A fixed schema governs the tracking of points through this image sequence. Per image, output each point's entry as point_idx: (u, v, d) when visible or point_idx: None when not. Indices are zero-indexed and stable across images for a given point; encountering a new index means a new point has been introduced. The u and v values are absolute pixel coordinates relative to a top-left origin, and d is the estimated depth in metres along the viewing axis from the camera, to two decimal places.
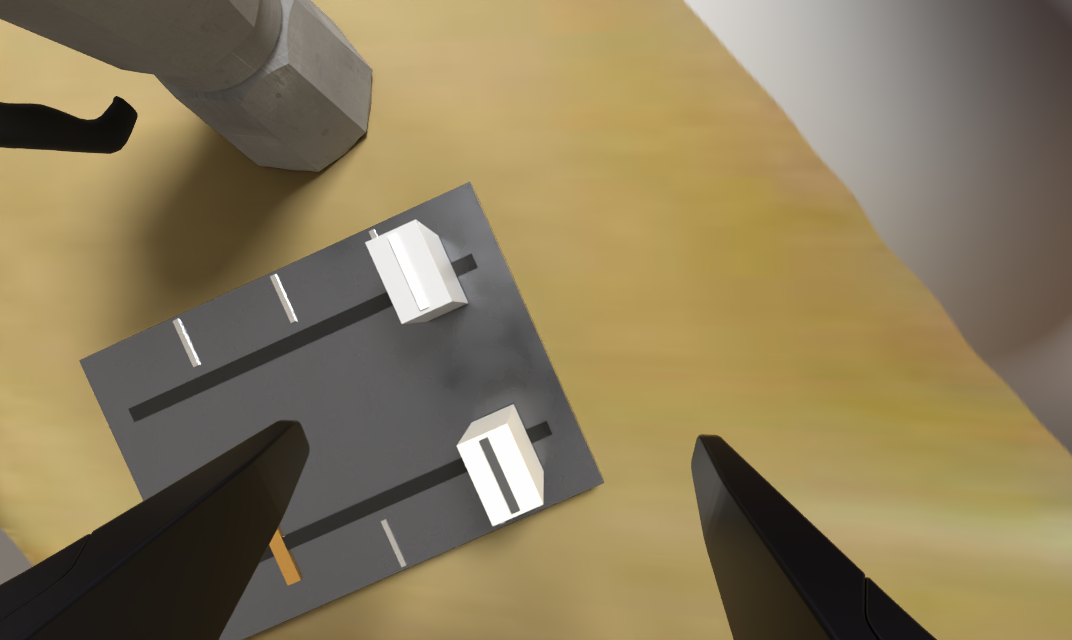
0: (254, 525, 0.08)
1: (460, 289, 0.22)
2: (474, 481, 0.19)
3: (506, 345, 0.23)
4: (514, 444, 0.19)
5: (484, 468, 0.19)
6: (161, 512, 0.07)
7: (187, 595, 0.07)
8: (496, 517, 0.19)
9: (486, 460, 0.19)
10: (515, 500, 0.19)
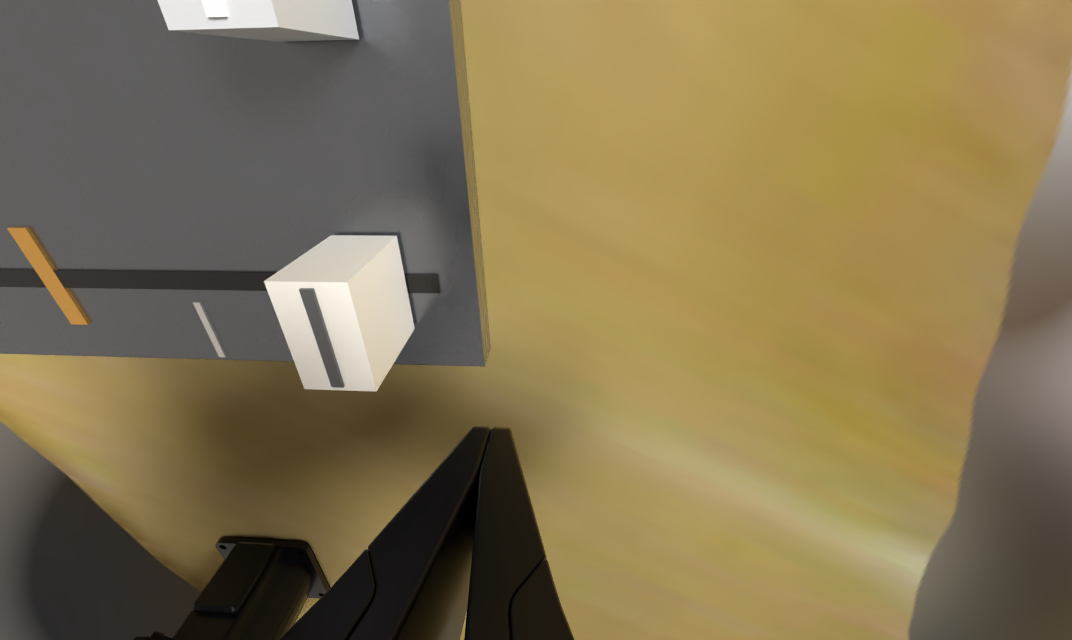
0: None
1: (343, 4, 0.12)
2: (286, 334, 0.13)
3: (409, 145, 0.14)
4: (353, 312, 0.13)
5: (303, 324, 0.13)
6: (426, 525, 0.07)
7: (446, 612, 0.07)
8: (311, 381, 0.14)
9: (307, 317, 0.13)
10: (339, 375, 0.14)
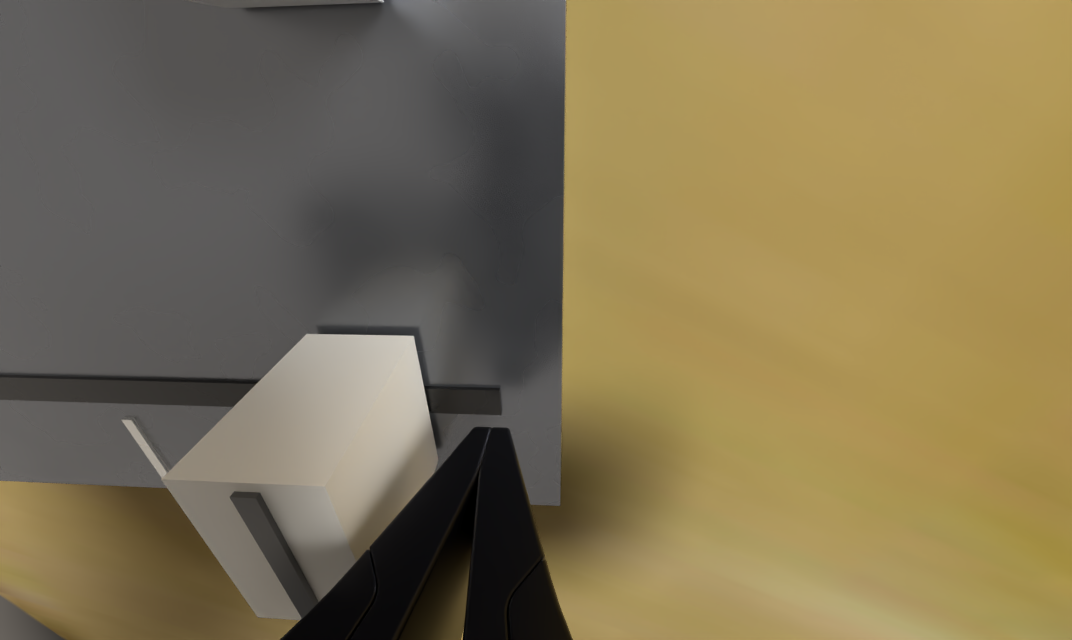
0: None
1: None
2: (215, 552, 0.07)
3: (467, 195, 0.08)
4: (338, 529, 0.07)
5: (246, 540, 0.07)
6: (428, 526, 0.07)
7: (448, 612, 0.07)
8: (268, 609, 0.08)
9: (252, 530, 0.07)
10: None
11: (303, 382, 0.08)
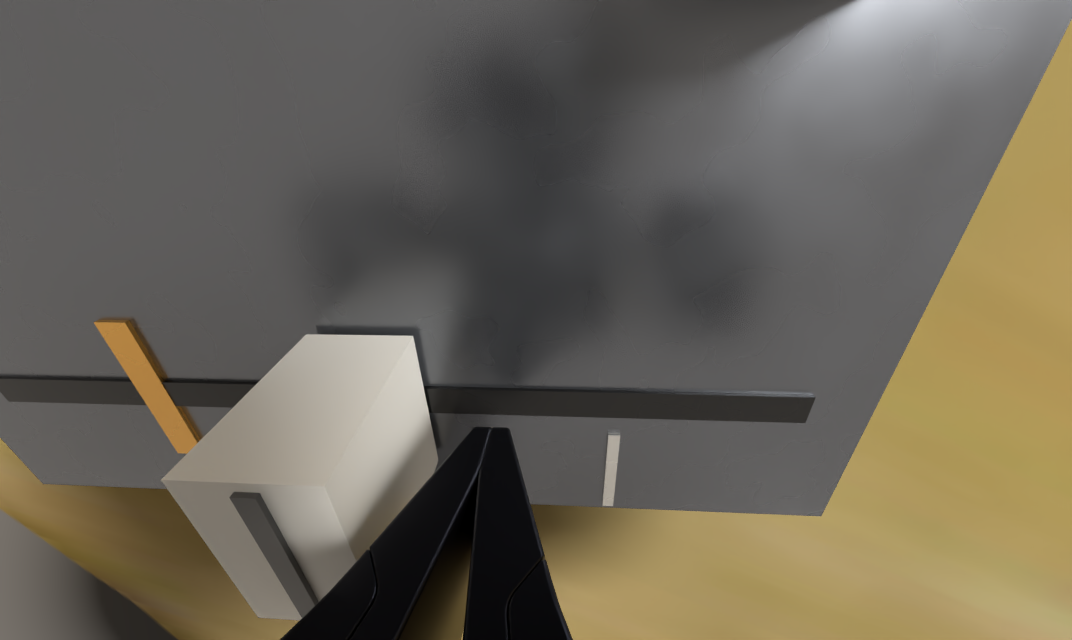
0: None
1: None
2: (215, 552, 0.07)
3: (874, 191, 0.08)
4: (338, 529, 0.07)
5: (245, 540, 0.07)
6: (428, 526, 0.07)
7: (448, 612, 0.07)
8: (268, 610, 0.08)
9: (252, 531, 0.07)
10: None
11: (302, 382, 0.08)
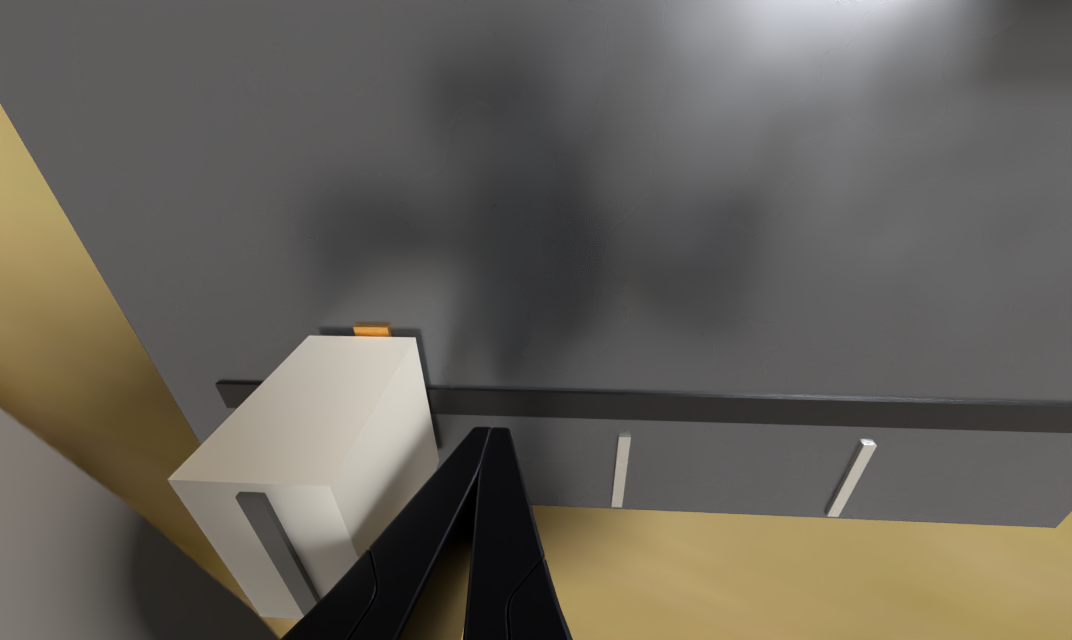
0: None
1: None
2: (219, 552, 0.07)
3: None
4: (342, 529, 0.07)
5: (250, 539, 0.07)
6: (428, 526, 0.07)
7: (447, 612, 0.07)
8: (271, 609, 0.08)
9: (256, 530, 0.07)
10: None
11: (306, 383, 0.08)
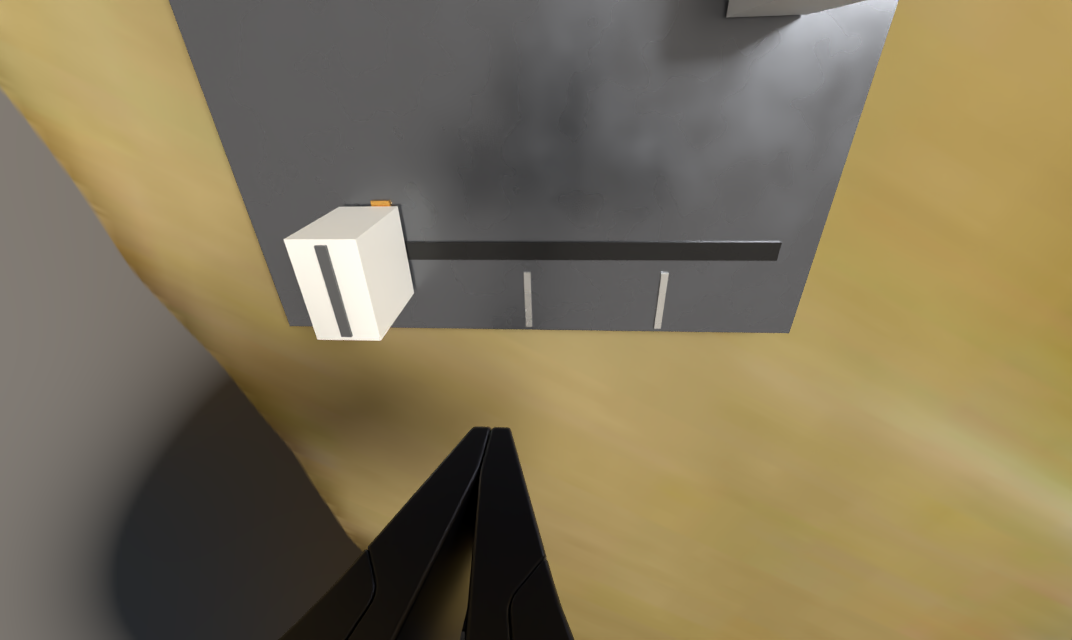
0: None
1: None
2: (301, 288, 0.15)
3: (806, 116, 0.15)
4: (360, 267, 0.14)
5: (317, 278, 0.15)
6: (426, 526, 0.07)
7: (446, 612, 0.07)
8: (323, 332, 0.16)
9: (320, 271, 0.15)
10: (348, 325, 0.16)
11: (340, 218, 0.16)
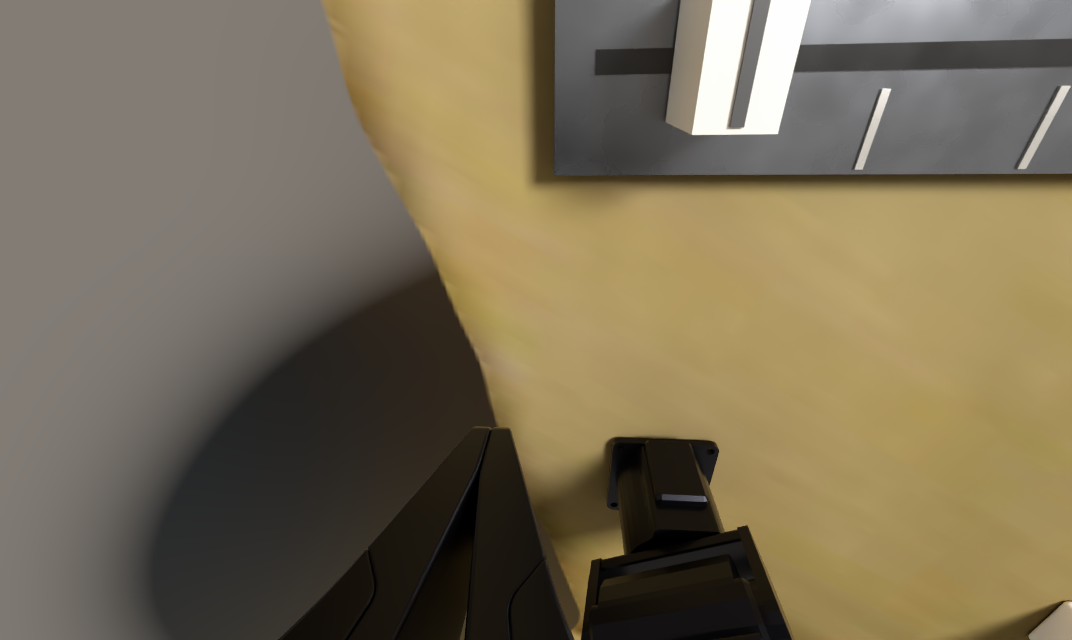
0: None
1: None
2: (708, 48, 0.12)
3: None
4: (806, 9, 0.11)
5: (736, 31, 0.11)
6: (426, 526, 0.07)
7: (446, 612, 0.07)
8: (704, 123, 0.13)
9: (746, 18, 0.11)
10: (746, 109, 0.12)
11: None
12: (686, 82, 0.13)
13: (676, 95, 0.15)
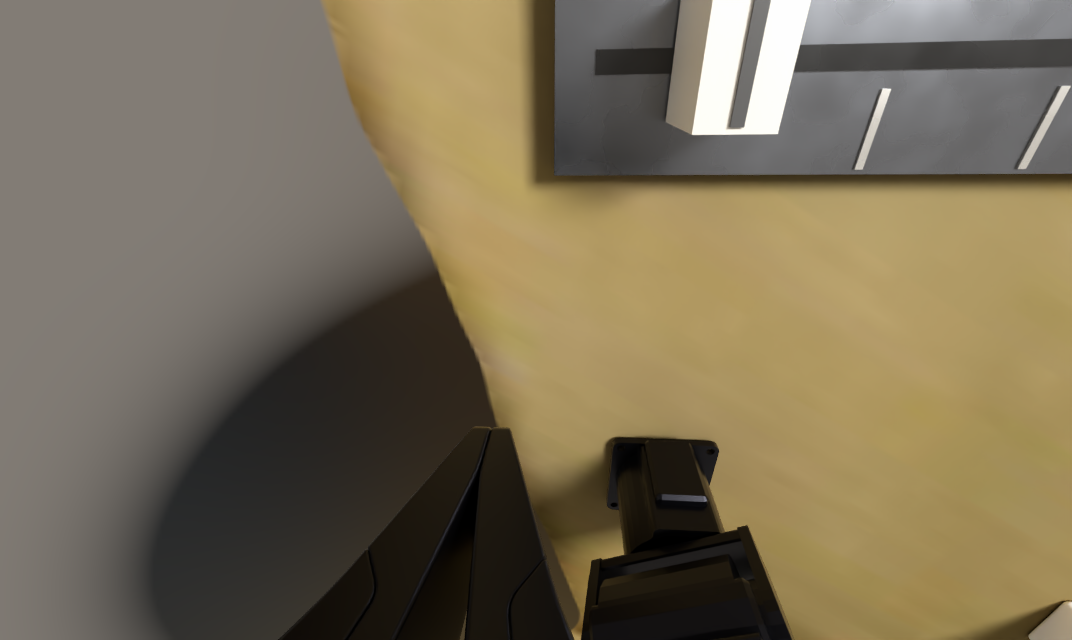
0: None
1: None
2: (708, 48, 0.12)
3: None
4: (806, 9, 0.11)
5: (736, 31, 0.11)
6: (426, 526, 0.07)
7: (446, 612, 0.07)
8: (704, 123, 0.13)
9: (746, 18, 0.11)
10: (746, 109, 0.12)
11: None
12: (686, 82, 0.13)
13: (676, 95, 0.15)
